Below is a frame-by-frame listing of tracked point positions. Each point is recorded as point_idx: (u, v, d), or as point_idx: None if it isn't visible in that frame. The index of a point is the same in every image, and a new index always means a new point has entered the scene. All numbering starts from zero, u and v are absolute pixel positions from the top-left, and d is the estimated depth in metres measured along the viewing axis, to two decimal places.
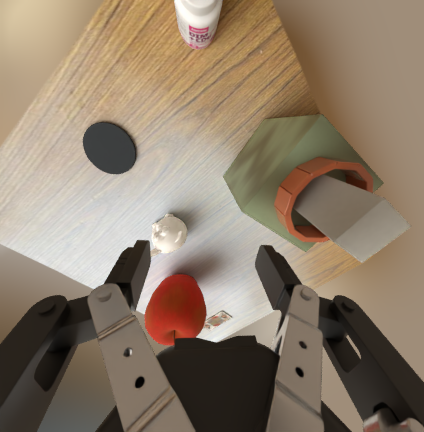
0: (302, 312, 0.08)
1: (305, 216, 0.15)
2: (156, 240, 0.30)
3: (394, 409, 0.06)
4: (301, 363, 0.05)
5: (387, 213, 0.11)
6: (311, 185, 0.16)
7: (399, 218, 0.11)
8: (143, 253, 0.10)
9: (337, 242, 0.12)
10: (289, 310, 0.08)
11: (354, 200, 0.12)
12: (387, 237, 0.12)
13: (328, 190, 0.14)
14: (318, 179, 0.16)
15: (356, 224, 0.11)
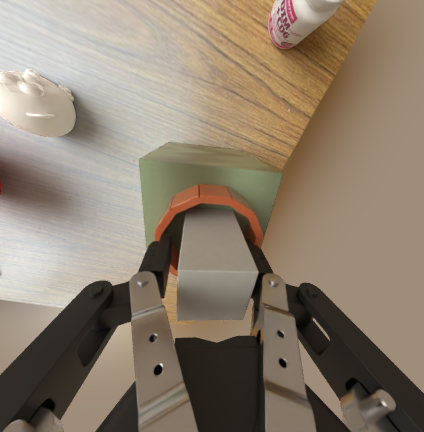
0: (273, 300, 0.08)
1: (185, 229, 0.11)
2: (1, 79, 0.16)
3: (363, 382, 0.06)
4: (282, 353, 0.06)
5: (244, 289, 0.09)
6: (218, 214, 0.13)
7: (245, 303, 0.09)
8: (169, 246, 0.11)
9: (180, 275, 0.08)
10: (262, 301, 0.08)
11: (235, 253, 0.09)
12: (220, 313, 0.10)
13: (226, 228, 0.12)
14: (228, 216, 0.13)
15: (215, 273, 0.08)
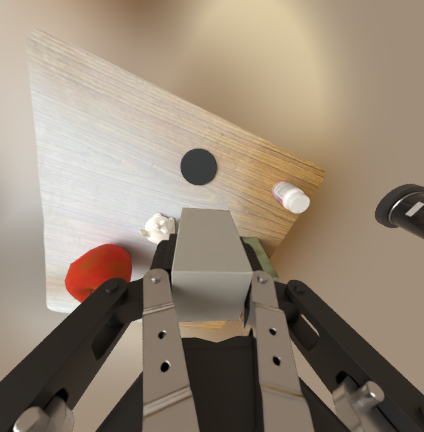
0: (263, 297, 0.08)
1: (180, 229, 0.11)
2: (155, 228, 0.37)
3: (353, 375, 0.06)
4: (275, 351, 0.06)
5: (239, 290, 0.09)
6: (214, 214, 0.13)
7: (240, 304, 0.09)
8: None
9: (174, 276, 0.08)
10: (252, 299, 0.08)
11: (230, 253, 0.09)
12: (215, 314, 0.10)
13: (222, 229, 0.12)
14: (224, 216, 0.13)
15: (209, 274, 0.08)
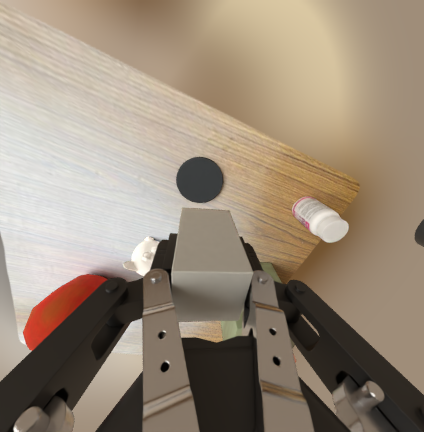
0: (263, 297, 0.08)
1: (180, 229, 0.11)
2: (144, 259, 0.29)
3: (353, 375, 0.06)
4: (276, 351, 0.06)
5: (239, 290, 0.09)
6: (214, 214, 0.13)
7: (240, 304, 0.09)
8: None
9: (174, 276, 0.08)
10: (252, 300, 0.08)
11: (230, 253, 0.09)
12: (215, 314, 0.10)
13: (222, 229, 0.12)
14: (224, 216, 0.13)
15: (209, 274, 0.08)
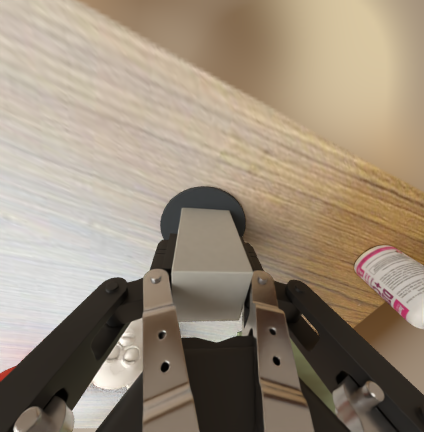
0: (263, 297, 0.08)
1: (180, 229, 0.11)
2: (105, 363, 0.16)
3: (353, 375, 0.06)
4: (276, 351, 0.06)
5: (239, 290, 0.09)
6: (214, 214, 0.13)
7: (240, 304, 0.09)
8: None
9: (174, 276, 0.08)
10: (252, 300, 0.08)
11: (230, 253, 0.09)
12: (215, 314, 0.10)
13: (222, 229, 0.12)
14: (224, 216, 0.13)
15: (209, 274, 0.08)
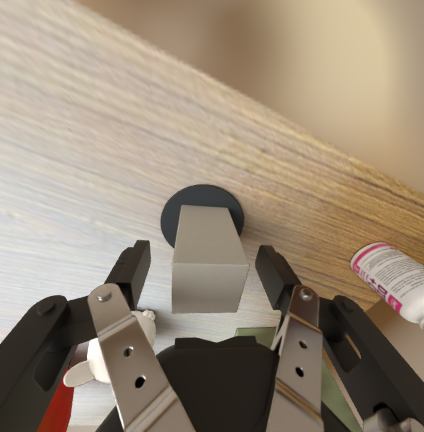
0: (302, 312, 0.08)
1: (180, 225, 0.11)
2: None
3: (394, 409, 0.06)
4: (301, 363, 0.05)
5: (236, 282, 0.09)
6: (213, 211, 0.14)
7: (237, 296, 0.10)
8: (143, 253, 0.10)
9: (174, 268, 0.08)
10: (289, 310, 0.08)
11: (228, 247, 0.10)
12: (213, 306, 0.10)
13: (220, 225, 0.12)
14: (222, 213, 0.14)
15: (208, 266, 0.09)
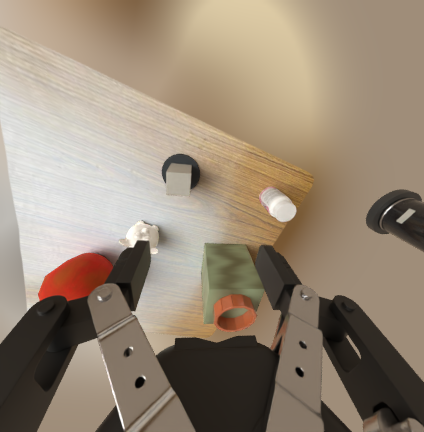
0: (302, 312, 0.08)
1: (169, 166, 0.30)
2: (136, 237, 0.35)
3: (394, 409, 0.06)
4: (301, 363, 0.05)
5: (187, 181, 0.28)
6: (184, 165, 0.33)
7: (189, 187, 0.29)
8: (143, 253, 0.10)
9: (167, 173, 0.27)
10: (289, 310, 0.08)
11: (185, 171, 0.29)
12: (181, 192, 0.29)
13: (185, 167, 0.31)
14: (188, 165, 0.33)
15: (177, 173, 0.27)
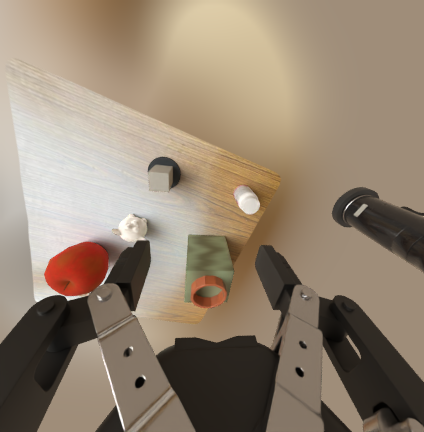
0: (302, 312, 0.08)
1: None
2: (126, 228, 0.42)
3: (394, 409, 0.06)
4: (301, 363, 0.05)
5: (166, 179, 0.34)
6: (166, 166, 0.39)
7: (167, 185, 0.35)
8: (143, 253, 0.10)
9: (148, 173, 0.33)
10: (289, 310, 0.08)
11: (165, 171, 0.35)
12: (161, 188, 0.35)
13: (166, 168, 0.37)
14: (169, 166, 0.39)
15: (157, 173, 0.34)
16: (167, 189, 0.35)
